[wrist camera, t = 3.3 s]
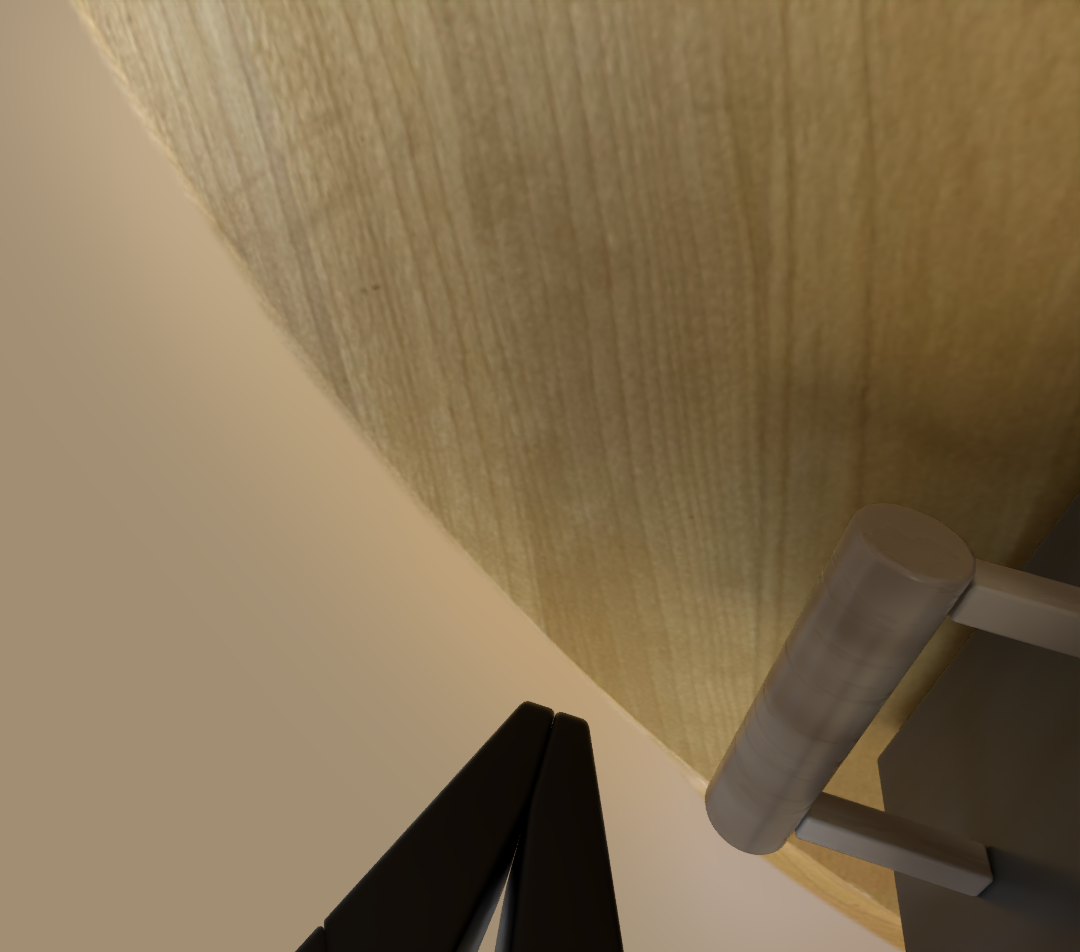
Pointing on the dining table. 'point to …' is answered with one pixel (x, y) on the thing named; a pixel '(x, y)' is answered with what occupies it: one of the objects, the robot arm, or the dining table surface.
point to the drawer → (930, 733)
